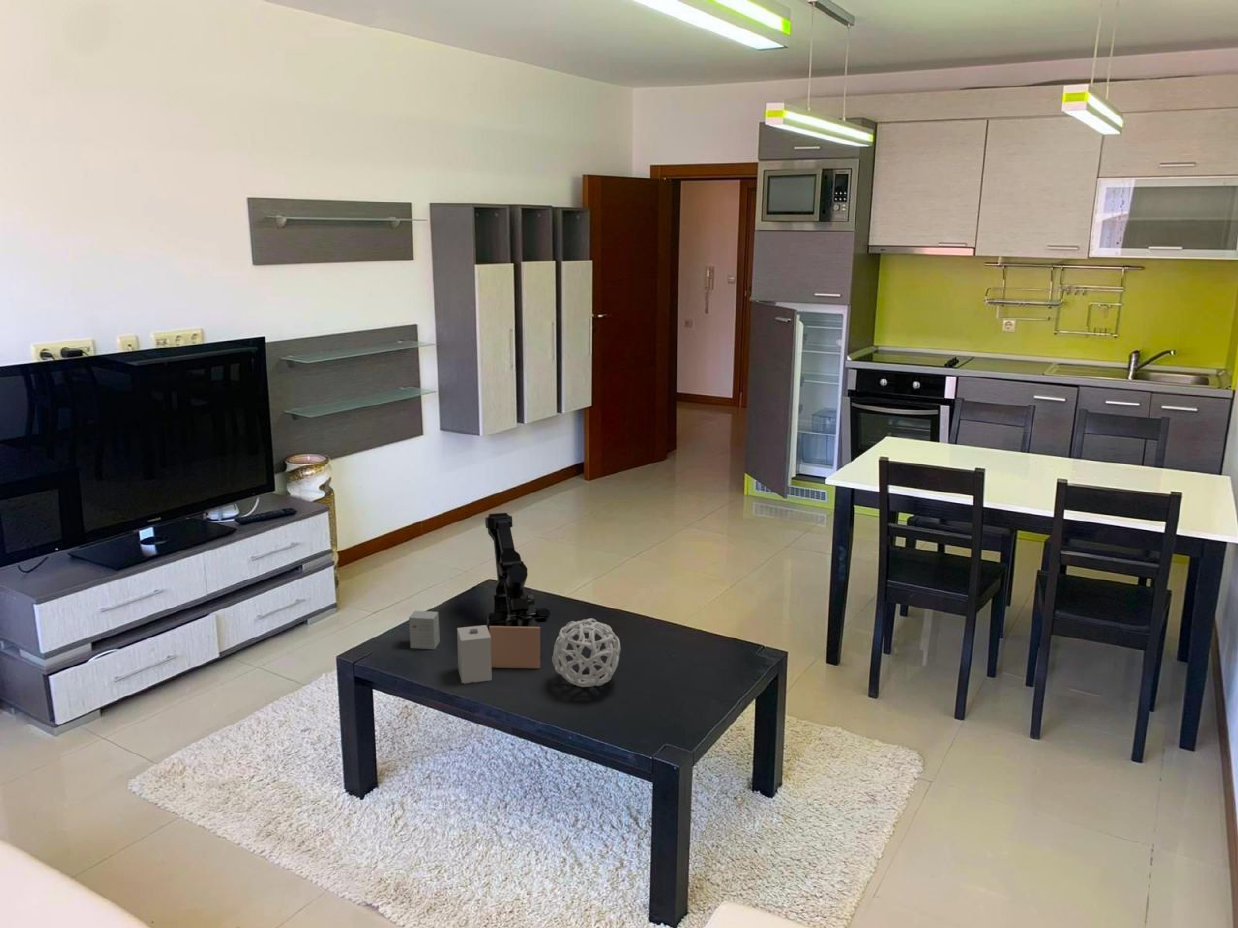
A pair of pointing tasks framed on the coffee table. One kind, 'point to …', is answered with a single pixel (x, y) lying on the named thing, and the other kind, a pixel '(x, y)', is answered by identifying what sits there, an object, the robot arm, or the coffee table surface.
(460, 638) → the beige rectangular box
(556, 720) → the coffee table surface
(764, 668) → the coffee table surface
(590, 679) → the decorative ball
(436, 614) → the small box
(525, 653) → the side door
